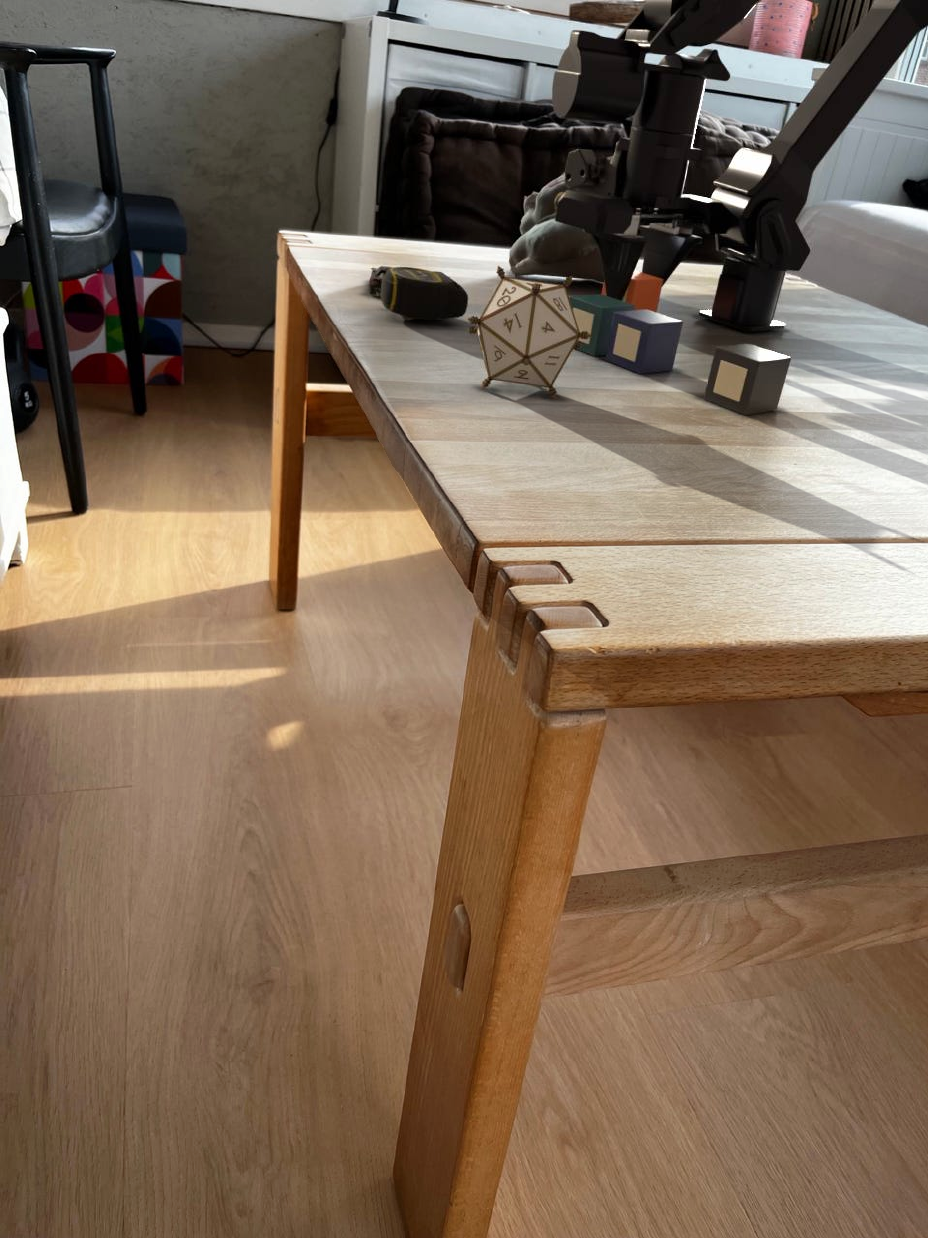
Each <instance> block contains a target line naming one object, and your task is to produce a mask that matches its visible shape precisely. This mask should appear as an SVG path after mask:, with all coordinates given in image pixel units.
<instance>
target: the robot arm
mask: <svg viewBox="0 0 928 1238" xmlns="http://www.w3.org/2000/svg"><path fill="white" fill-rule="evenodd" d="M762 1H763V0H644V5H643V6H642V7H641V8H640V10H638V12H637V13H636V14H635V15H634V17H633V18H631V20H630V21H629V23H627V25H626V26H625V28H624V29H623V30H622V31H621V32H620V33H619V34H618V35H617V36H616V37H609V36H604V35H600V34H599V33H596V32H594V31H588V30H581V29H580V30H579V29H573V30H571V32H570V34H569V35H570V36H569V42H568V46H567V47H566V48H565V49H564V50H563V53H562V55H561V57H560V60H559V63H558V65H557V70H554V72H553V73H554V74H553V78H552V79H553V80H552V87H551V100H552V109H553V111H554V114H555V116H556V117H557V118H559V119H564V120H573V121H583V122H590V123H596V124H597V123H598V124H605V125H613V126H619V125H622V124H624V122H625V121H626V120H627V119H628V117H629V116H633V118H632V123H631V127H630V134H629V137H621V136H620V137H619V140H618V141H617V142H616V144H615V149H614V154H613V155H612V156H608V157H601V156H600V157H599V156H598V157H596V155H595V153H594V151H593V150H592V149H583V148H577V149H575V150H572V151H569V152H568V155H567V158H566V159H567V160H566V164H565V168H564V172H565V183H566V185H567V187H568V188H576V190H566V191H565V193H564V194H563V195H562V196H561V197H560V198H559V199H558V205H557V212H556V218H555V221H556V222H560V223H563V224H567V225H570V226H574V227H577V228H581V229H583V231H584V232H585V233H588V234H590V235H591V237H592V238H593V240H594V241H595V243H596V244H597V246H598V248H599V252H600V256H601V261H602V267H603V274H604V281H605V288H606V295H607V296H608V297H611V298H614V299H617V300H620V301H622V299H623V297H624V295H625V293H626V290H627V288H628V285H629V283H630V280H631V278H632V275H633V273H634V270H635V271H636V268H637V266H638V263H639V261H640V258H641V255H642V254H643V251H644V255H643V261H642V268H641V273H645V274H648V275H651V276H654V277H658V278H661V279H663V284H662V288H663V287H664V285H665V284H666V283H667V281H668V280H669V279H670V277H671V276H672V274H673V273H674V272H675V271H676V270H677V268H678V267H679V266H680V264H681V263H682V261H683V260H684V259H685V258H686V257H687V256H688V254H690V252H691V251H692V249H693V248H694V247H695V246H696V245H698V244H701V243H702V240H703V237H701V236H698V235H694V234H693V229H694V227H696V228H700V229H704V232H705V233H706V234H709V235H714V237H715V249H716V251H718V252H720V253H725V254H727V256H726V257H724V260H723V265H722V268H721V273H720V274H719V277H718V281H717V285H716V290H715V294H714V297H713V303H712V306H711V309H710V310H709V309H708V310H700V311H698V316H699V317H700V318H705V319H707V320H710V321H713V322H716V323H719V324H722V325H725V326H729V327H732V328H734V329H738V330H741V331H744V332H747V333H748V332H749V333H750V332H751V333H753V332H761V331H764V332H765V331H772V330H783V329H785V328H786V323H784V322H781V321H778V320H774V317H775V314H776V310H777V307H778V303H779V300H780V299H779V298H780V295H781V292H782V288H783V285H784V281H785V278H786V277H785V276H786V273H787V271H788V272H789V271H793V272H799V271H800V270H801V269H802V268H803V266H804V264H805V262H806V261H807V258H808V257H809V256H810V253H811V248H810V246H809V244H808V242H807V240H806V238H805V236H804V235H803V233H802V231H801V229H800V226H799V225H798V222H797V220H798V218H799V217H800V215H801V213H802V211H803V210H804V208H805V206H806V204H807V202H808V197H809V193H810V189H811V185H812V184H811V183H812V179H813V175H814V172H815V170H816V168H817V167H818V166H819V165H820V163H821V162H822V160H823V159H824V158H825V157H826V155H827V154H828V153H829V151H830V150H831V149H832V147H834V144H836V142H837V141H838V139H839V138H840V137H841V136H842V135H843V133H844V132H845V131H846V129H847V127H848V126H849V125H850V124H851V122H852V121H853V119H854V118H856V115H857V114H858V113H859V112H860V111H861V109H863V106H864V105H865V104H866V102H867V101H868V100H869V99H870V97H871V96H872V94H873V93H874V92H875V91H876V89H877V88H878V87H879V86H880V84H881V82H882V81H883V80H884V79H885V77H886V76H887V74H888V73H889V72H890V71H891V69H892V68H893V67H894V65H896V63H897V62H898V60H899V59H900V57H901V56H902V55H903V53H904V52H905V51H906V50H907V48H908V47H909V45H910V44H911V43H912V42H913V40H914V39H915V37H916V36H917V35H919V33H920V32H922V31H923V30H925V29H926V28H927V27H928V0H874V1H873V4H872V5H871V7H870V9H869V10H868V12H867V13H866V14H865V16H864V17H863V18H862V20H861V21H860V23H858V25H857V26H856V28H855V29H854V31H853V32H852V33H851V35H850V36H849V37H848V39H847V40H846V42H845V43H844V44H843V45H842V46H841V48H840V50H838V52H837V54H835V57H833V59H832V60H831V62H830V63H829V65H828V66H827V67H826V69H825V70H824V71H823V72H822V74H821V75H820V77H819V78H818V79H817V81H816V82H815V83H814V85H813V86H812V88H811V89H810V91H808V93H807V94H806V95H805V97H804V99H802V101H801V102H800V104H799V105H798V106H797V108H796V109H795V110H794V112H793V114H791V116H790V117H789V119H788V120H787V121H786V123H785V124H784V126H783V127H781V129H780V131H779V132H778V134H777V135H776V136H775V138H774V139H773V140H772V141H770V143H769V144H767V145H766V146H764V147H763V148H761V149H759V150H757V149H752V148H748V147H741V148H740V149H739V150H738V151H737V152H736V153H735V155H734V156H733V158H732V160H731V162H730V164H729V165H728V167H727V169H726V170H725V171H724V172H723V173H722V174H721V176H720V177H718V178H716V179H715V180H714V181H713V185H714V186H717V187H716V188H715V189H714V191H713V193H712V195H711V197H710V198H708V197H704V196H700V195H695V194H685V193H684V194H683V192H684V187H685V184H686V183H685V182H686V178H687V173H688V167H689V164H690V163H689V162H700V158H701V153H702V148H697V147H693V144H694V140H695V134H696V129H697V125H698V120H699V115H700V111H701V106H702V101H703V96H704V92H705V87H706V82H707V80H712V81H720V82H728V81H729V80H730V79H731V72H730V71H729V70H728V68H727V67H726V65H725V64H724V62H723V61H722V59H721V57H720V54H719V51H718V49H716V48H703V49H702V50H701V51H700V52H699V53H698V54H697V55H690V54H683V53H678V52H680V51H682V50H684V49H685V48H686V47H693V48H702V47H705V46H709V45H712V44H713V43H715V42H716V41H718V40H719V39H721V38H722V37H723V36H724V35H725V34H727V33H728V32H729V31H731V30H732V29H733V28H735V27H736V26H737V25H739V24H740V23H742V22H743V21H744V20H745V19H746V18H747V16H748V15H749V14H750V13H751V12H752V11H753V9H754V8H755V7H756V6H757V5H758V4H759V3H760V2H762ZM648 54H649V55H658V56H659V55H660V56H663V57H662V59H661V60H660V61H659V62H658V64H655V63H648V62H645V61H646V56H647V55H648ZM640 224H649V225H640ZM638 231H640V235H638Z"/></svg>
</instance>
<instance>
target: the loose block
mask: <svg viewBox="0 0 928 1238" xmlns="http://www.w3.org/2000/svg"><path fill="white" fill-rule="evenodd" d="M662 284H663V279H661V278H658V277H654V276H651V275H648V274H645V273H642V271H639V270H636V269H635V270H634V273H633V275H632V278H631V280H630V283H629V285H628V288H627V290H626V293H625V295H624V297H623V299H622V301H623V302H626V303H629V304H632V305H635V310H646V309H647V310H650V311H653V312H656V313H658V308H659V303H660V299H661V298H660V297H661V293H662V290H663V289H662V288H663V287H662ZM601 294H602V295H605V296H607V295H606V288H605V281H604V283H602V289H601Z"/></svg>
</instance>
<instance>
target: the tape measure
mask: <svg viewBox="0 0 928 1238" xmlns="http://www.w3.org/2000/svg"><path fill="white" fill-rule="evenodd" d="M393 267H394V268H391V269H388V270H387V271H386V274H385V276H384V277H383V280H382V285H381V293H380V299H381V303H382V306H383V307H384V308H385V309H386V310H388V311H390V312H392V313H394V314H395V315H399V316H400V317H401V318H403V319H404V320H405V321H411V320H423V321H434V320H435V321H436V320H451V319H457V318H461V317H463V316H464V315H465V314H466V312H467V308H468V303H469V295H468V293H467V291H466V290H465V289H464V287H463V286H462V285H460V284H459V282H457V281H455V280H454V279H453V278H451V277H450V276H448V275H447V274H445V273H444V272H443V271H436V270H434V271H433V270H428V269H423V268H418V267H411V266H393Z"/></svg>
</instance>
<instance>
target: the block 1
mask: <svg viewBox="0 0 928 1238" xmlns="http://www.w3.org/2000/svg"><path fill="white" fill-rule="evenodd" d="M568 296H569V299H570V303H571V306H572V309H573V312H574V315H575V318H576V322H577V325H578V328H579V331H580V333H581V332H583V331H584V332H586V331H587V332H588V333H589V334H590V335H591V336H590V337H589V338H588V339H586V340H585V339H582V338H579V340H578V341H579V342H580V343H581V345H582V346H580V347H578V348H577V349H576V347H575V348H574V349H575V350H578V351H580V352H582V353H585V354H587V355H591V356H593V357H598V356H600V357H601V356H606V353H607V347H608V342H609V337H610V332H611V327H612V321H613V316H614V312H616V311H631V310H635V305H632V304H629V303H626V302H623V301H620V300H617V299H614V298H611V297H608V296H605V295H602V293H601V294H598V293H597V294H580V295H579V294H578V295H568Z"/></svg>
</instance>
